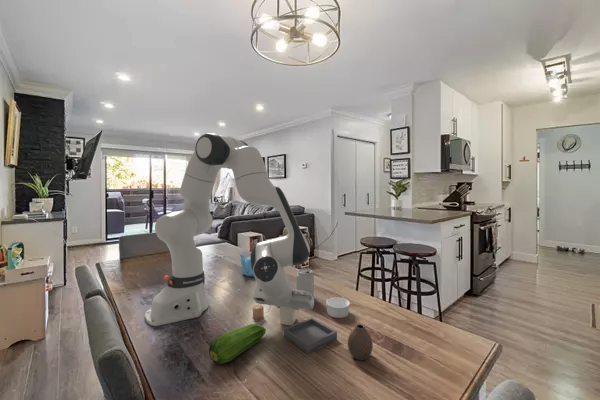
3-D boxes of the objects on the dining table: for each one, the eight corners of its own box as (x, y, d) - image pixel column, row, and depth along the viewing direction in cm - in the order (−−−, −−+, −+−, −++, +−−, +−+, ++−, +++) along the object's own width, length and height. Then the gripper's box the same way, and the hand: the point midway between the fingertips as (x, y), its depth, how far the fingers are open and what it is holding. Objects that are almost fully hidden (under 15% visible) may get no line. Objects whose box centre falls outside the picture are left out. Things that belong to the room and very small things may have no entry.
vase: (345, 349, 84) (345, 320, 83) (367, 348, 85) (368, 319, 84) (351, 364, 77) (351, 333, 77) (375, 362, 78) (376, 332, 77)
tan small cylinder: (256, 321, 101) (256, 310, 101) (250, 317, 104) (250, 307, 104) (265, 318, 103) (265, 307, 103) (260, 314, 106) (260, 303, 106)
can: (312, 302, 116) (312, 274, 115) (294, 301, 117) (294, 273, 116) (315, 295, 123) (315, 268, 122) (298, 294, 125) (298, 267, 124)
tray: (307, 354, 82) (307, 345, 82) (283, 336, 91) (283, 329, 91) (336, 339, 89) (336, 331, 89) (311, 324, 99) (311, 317, 99)
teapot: (268, 277, 147) (268, 257, 146) (239, 279, 144) (238, 259, 143) (266, 268, 161) (266, 250, 160) (239, 270, 158) (239, 252, 157)
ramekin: (351, 309, 110) (351, 299, 109) (347, 320, 101) (347, 309, 101) (329, 306, 112) (329, 296, 112) (323, 317, 104) (323, 305, 104)
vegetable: (207, 335, 77) (260, 309, 93) (201, 354, 79) (254, 325, 95) (223, 356, 73) (275, 325, 89) (216, 375, 75) (268, 341, 91)
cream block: (292, 325, 98) (292, 300, 98) (280, 323, 99) (279, 298, 99) (296, 318, 103) (295, 294, 102) (284, 317, 104) (283, 293, 103)
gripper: (312, 284, 90) (318, 301, 101) (253, 279, 96) (264, 295, 106) (309, 304, 86) (315, 319, 97) (247, 297, 92) (260, 312, 102)
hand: (288, 307), depth 101 cm, fingers open, 5 cm apart
